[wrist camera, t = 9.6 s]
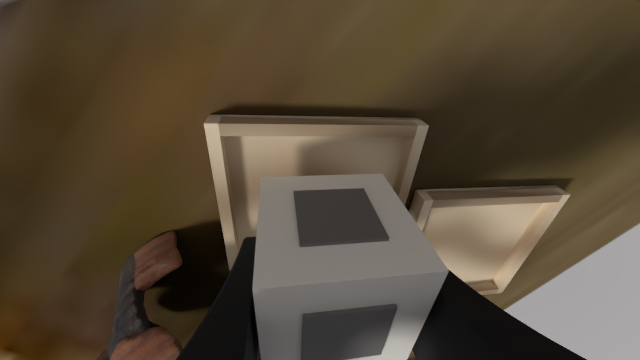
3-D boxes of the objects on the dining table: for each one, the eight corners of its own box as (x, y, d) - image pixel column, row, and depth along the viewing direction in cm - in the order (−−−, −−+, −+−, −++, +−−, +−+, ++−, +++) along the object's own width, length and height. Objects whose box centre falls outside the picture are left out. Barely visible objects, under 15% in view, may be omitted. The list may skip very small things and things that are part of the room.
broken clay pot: (205, 183, 13) (287, 352, 9) (281, 234, 21) (342, 333, 17) (-13, 343, 12) (-39, 617, 8) (154, 331, 20) (186, 462, 16)
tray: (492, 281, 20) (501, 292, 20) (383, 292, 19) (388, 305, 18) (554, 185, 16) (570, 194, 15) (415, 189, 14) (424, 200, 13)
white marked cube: (364, 256, 14) (406, 366, 9) (266, 264, 13) (264, 388, 9) (382, 171, 11) (453, 271, 7) (260, 174, 10) (251, 291, 6)
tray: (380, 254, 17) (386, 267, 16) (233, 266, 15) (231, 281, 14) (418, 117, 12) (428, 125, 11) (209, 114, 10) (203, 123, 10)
